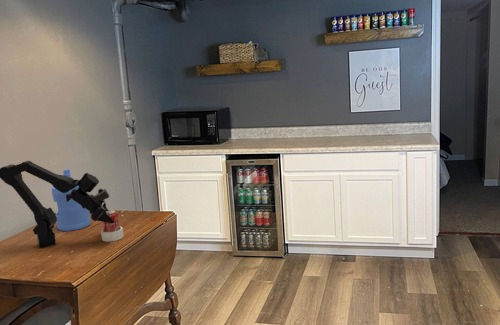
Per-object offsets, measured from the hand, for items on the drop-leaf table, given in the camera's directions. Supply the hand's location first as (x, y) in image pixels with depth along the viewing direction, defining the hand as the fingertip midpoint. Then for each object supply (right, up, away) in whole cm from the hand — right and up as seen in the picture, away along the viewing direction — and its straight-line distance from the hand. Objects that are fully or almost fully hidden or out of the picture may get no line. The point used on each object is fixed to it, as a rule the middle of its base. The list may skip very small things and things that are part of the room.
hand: (113, 220), depth 211 cm
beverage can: (-1, -8, +1) cm, 8 cm away
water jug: (-26, -6, +24) cm, 36 cm away
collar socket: (-1, -8, +1) cm, 8 cm away
